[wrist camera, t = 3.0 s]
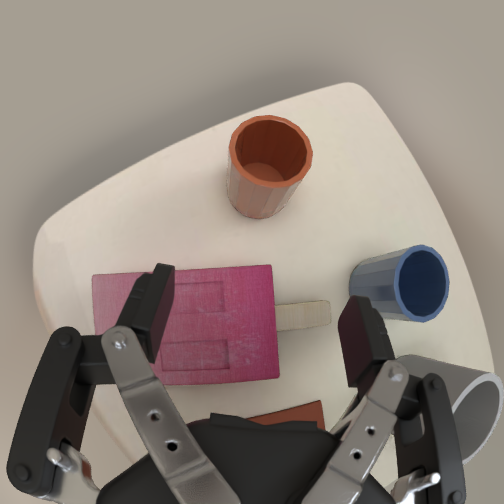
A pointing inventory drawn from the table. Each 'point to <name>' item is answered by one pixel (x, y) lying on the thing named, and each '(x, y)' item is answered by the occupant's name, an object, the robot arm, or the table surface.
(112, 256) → the table surface
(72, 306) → the table surface
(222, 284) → the popsicle
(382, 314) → the blue tumbler
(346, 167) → the table surface
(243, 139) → the terracotta tumbler
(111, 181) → the table surface
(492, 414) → the cup
